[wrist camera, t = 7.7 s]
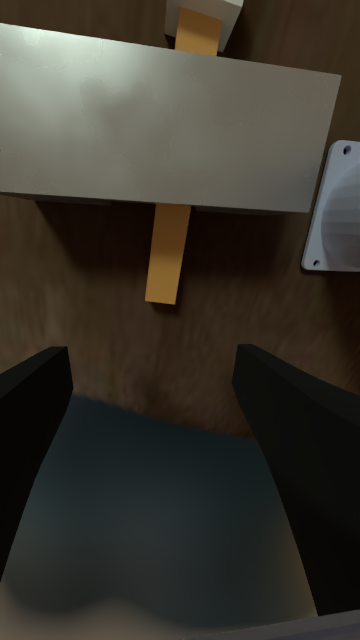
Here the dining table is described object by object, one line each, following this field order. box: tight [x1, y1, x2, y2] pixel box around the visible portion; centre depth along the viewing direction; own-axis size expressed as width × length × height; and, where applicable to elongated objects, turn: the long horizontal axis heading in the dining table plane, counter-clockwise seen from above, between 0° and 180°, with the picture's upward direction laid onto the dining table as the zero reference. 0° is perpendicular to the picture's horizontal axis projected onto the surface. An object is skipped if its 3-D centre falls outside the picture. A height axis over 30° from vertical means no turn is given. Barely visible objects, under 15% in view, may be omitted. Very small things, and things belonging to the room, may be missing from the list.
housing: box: [0, 23, 342, 216], centre depth 12 cm, size 15×5×5 cm, turn 87°
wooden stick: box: [145, 0, 243, 304], centre depth 13 cm, size 17×3×3 cm, turn 170°
